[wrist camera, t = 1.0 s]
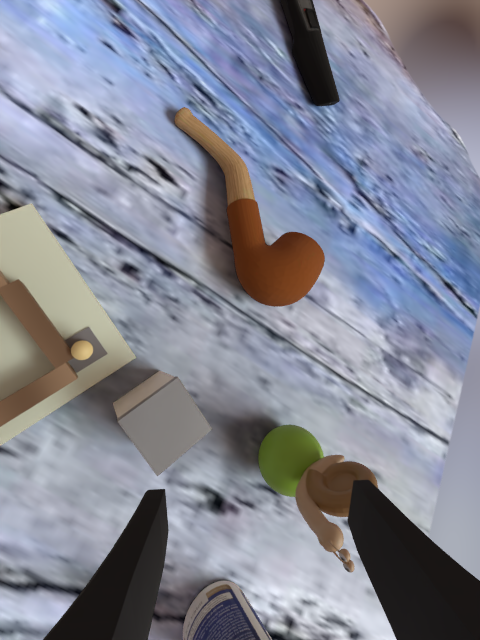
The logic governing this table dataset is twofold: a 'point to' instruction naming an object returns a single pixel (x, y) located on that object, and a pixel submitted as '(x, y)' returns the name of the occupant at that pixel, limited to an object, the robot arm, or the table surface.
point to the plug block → (161, 420)
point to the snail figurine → (312, 481)
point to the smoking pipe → (257, 231)
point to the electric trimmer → (310, 51)
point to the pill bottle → (223, 615)
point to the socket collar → (48, 343)
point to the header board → (63, 311)
